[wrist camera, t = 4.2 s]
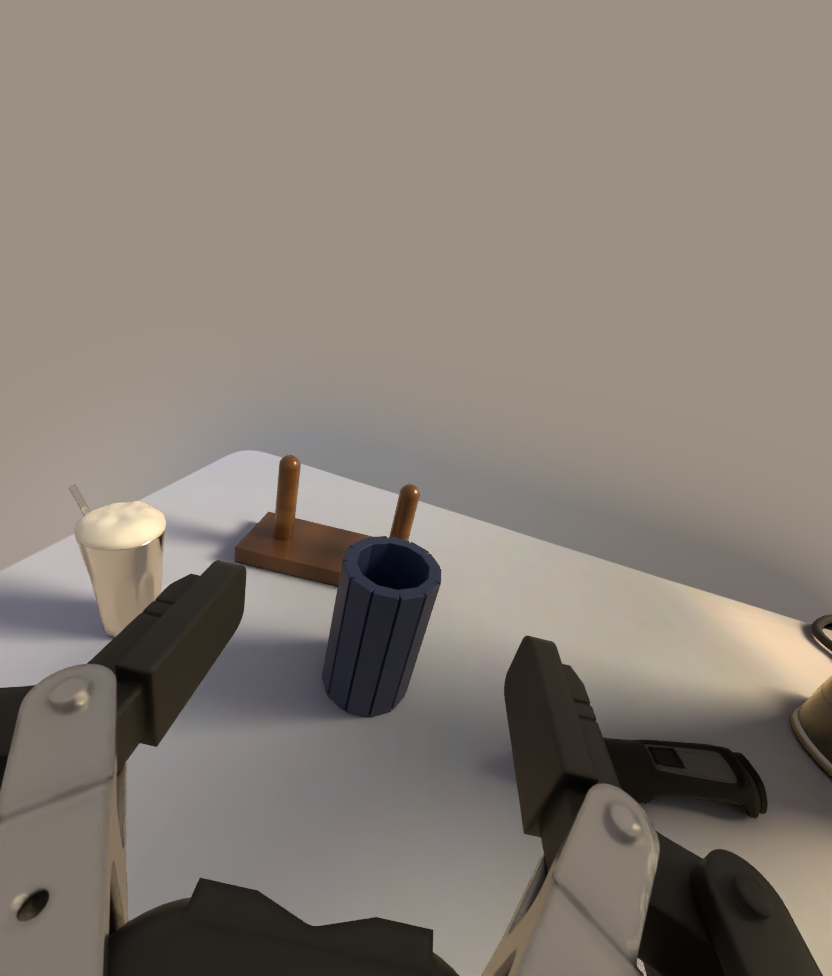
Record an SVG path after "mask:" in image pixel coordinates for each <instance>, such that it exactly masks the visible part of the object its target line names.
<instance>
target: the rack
mask: <svg viewBox="0 0 832 976" xmlns="http://www.w3.org/2000/svg"><path fill="white" fill-rule="evenodd" d="M300 466H301V465H300V462H299V460H298V458H296V457H295V456H292V455H287V456H285V457H283V458H282V459H281V461H280V464H279V475H278V487H277V499H276V511H275V513H272V512H268V513H267V514H266V515H265V516H264V517H263V518H262V519H261V521H260V522H259V523H258V524H257V525H256V526H255V527H254V528H253V529H252V530H251V531H250V533H249V534H248V535H247V536H246V537H245V538H244V539H243V540H242V541H241V542H240V543H239V544H238V546H237V547H236V548H235V562H238V563H242V564H247V565H251V566H255V567H259V568H263V569H268V570H272V571H276V572H280V573H285V574H289V575H293V576H297V577H301V578H306V579H310V580H314V581H318V582H323V583H327V584H331V585H335V586H338V584H339V578H340V573H341V567H342V561H343V558H344V556H345V554H346V551H347V549H348V547H350V545H352V544H354V543H356V542H358V541H360V540H361V539H363V538H366V539H367V538H368V537H372V536H368V535H363V534H359V533H355V532H351V531H347V530H343V529H338V528H334V527H330V526H326V525H322V524H318V523H313V522H309V521H305V520H301V519H297V518H295V512H296V503H297V494H298V485H299V475H300ZM419 496H420V492H419V490H418V488H417V487H416V486H414V485H412V484H408V485H405V486H403V487H402V489H401V490H400V494H399V498H398V502H397V507H396V511H395V515H394V520H393V524H392V528H391V533H390V537H394V538H398V539H402V540H406V541H408V539H409V535H410V531H411V527H412V524H413V520H414V516H415V512H416V508H417V504H418V500H419Z"/></svg>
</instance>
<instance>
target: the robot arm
mask: <svg viewBox="0 0 832 976" xmlns="http://www.w3.org/2000/svg"><path fill="white" fill-rule="evenodd" d="M245 586H246V568H245V567H244V566H241V565H237V564H233V563H228V562H224V561H220V560H217V561H215V562H213V563H212V564H211V565H210V566H209V567H208V568H207V570H206V571H205V572H204V573H203V574H202V575H201V576H198V575H194V574H189V575H187V576H185V577H183V578H181V579H179V580H178V581H176V582H174V583H172V584H170V585H169V586H168V587H167V588H166V589H165V590H164V591H163V592H162V593H161V594H160V595H159V596H158V597H157V598H156V600H155V601H152V602H151V603H150V604H149V605H148V606H147V607H146V608H145V609H144V611H143V613H140V614H139V615H138V616H137V617H136V618H135V619H134V620H133V621H131V622H130V623H129V624H128V625H127V626H126V627H125V628H124V629H123V630H122V631H121V632H120V633H119V634H118V635H117V636H116V637H115V638H114V639H113V640H112V641H111V642H110V643H108V644H107V645H106V646H105V647H104V648H103V649H102V650H101V651H100V652H99V653H98V654H97V655H96V656H95V657H94V658H93V659H92V660H91V661H89V662H88V663H87V664H82V665H76V666H72V667H69V668H65V669H63V670H60V671H58V672H56V673H54V674H52V675H50V676H48V677H47V678H45V679H43V680H42V681H41V682H39V683H38V684H37V685H34V686H24V687H8V688H0V976H459V975H458V974H457V973H456V972H455V970H454V969H453V968H452V967H451V966H449V965H448V964H447V963H446V962H445V961H444V960H443V959H442V958H441V957H439V956H438V955H436V954H435V953H433V930H431V929H427V928H422V927H418V926H413V925H409V924H404V923H400V922H395V921H391V920H386V919H382V918H377V917H375V918H368V919H362V920H356V921H349V922H343V923H336V924H330V925H323V926H311V925H309V924H307V923H305V922H303V921H302V920H301V919H299V918H298V917H296V916H295V915H293V914H292V913H290V912H289V911H287V910H286V909H284V908H283V907H281V906H280V905H278V904H277V903H275V902H274V901H272V900H271V899H269V898H268V897H266V896H265V895H263V894H262V893H260V892H259V891H257V890H253V889H248V888H244V887H239V886H235V885H230V884H226V883H221V882H217V881H212V880H208V879H203V878H200V879H199V881H198V883H197V885H196V888H195V890H194V892H193V894H192V897H191V898H185V899H180V900H176V901H173V902H170V903H166V904H163V905H161V906H159V907H156V908H154V909H152V910H149V911H147V912H145V913H143V914H142V915H140V916H138V917H136V918H134V919H133V920H131V921H129V922H128V884H127V866H126V792H127V764H126V761H127V760H128V758H129V757H130V755H131V754H132V753H133V751H134V750H135V749H136V747H137V746H138V744H139V743H142V744H146V745H151V746H155V747H157V746H158V744H159V743H160V741H161V740H162V738H163V737H164V735H165V734H166V732H167V731H168V730H169V728H170V727H171V725H172V724H173V722H174V721H175V719H176V718H177V716H178V715H179V713H180V712H181V710H182V709H183V708H184V706H185V705H186V703H187V702H188V700H189V699H190V697H191V696H192V694H193V693H194V691H195V690H196V688H197V687H198V686H199V684H200V683H201V681H202V680H203V678H204V677H205V675H206V674H207V672H208V671H209V669H210V668H211V666H212V665H213V664H214V662H215V661H216V659H217V658H218V656H219V655H220V653H221V652H222V650H223V649H224V647H225V646H226V644H227V643H228V642H229V640H230V639H231V637H232V636H233V634H234V633H235V631H236V630H237V628H238V626H239V624H240V621H241V619H242V615H243V611H244V602H245ZM823 628H824V629H828V630H831V631H832V615H826V616H823V617H820V618H818V619H817V620H816V621H814V622H813V624H812V627H811V629H812V633H813V635H814V636H815V637H816V638H817V639H818V640H819V641H820V642H821V643H822V644H823V645H824V646H826V647H827V648H828V649H829V650H831V651H832V641H831V640H830V639H829V638H828V637H827V636H826V635H825V634H824V633H823V631H822V629H823ZM504 696H505V704H506V711H507V718H508V725H509V732H510V739H511V746H512V753H513V760H514V767H515V774H516V781H517V788H518V795H519V802H520V809H521V816H522V823H523V830H524V834H528V835H532V836H537V837H541V839H542V845H543V850H544V854H543V855H542V856H541V858H540V860H539V862H538V864H537V866H536V868H535V870H534V872H533V874H532V877H531V879H530V881H529V883H528V885H527V887H526V889H525V891H524V893H523V895H522V898H521V900H520V902H519V904H518V906H517V908H516V910H515V912H514V914H513V916H512V919H511V921H510V923H509V925H508V927H507V929H506V931H505V933H504V935H503V937H502V939H501V941H500V943H499V945H498V947H497V949H496V951H495V952H494V954H493V956H492V957H491V959H490V961H489V962H488V964H487V966H486V968H485V969H484V971H483V973H482V975H481V976H644V975H643V973H642V972H641V971H640V970H639V969H638V968H637V958H639V959H640V960H642V961H643V963H644V966H645V970H646V974H647V976H823V975H822V973H821V972H820V970H819V968H818V966H817V964H816V962H815V960H814V958H813V956H812V955H811V953H810V951H809V949H808V947H807V945H806V943H805V941H804V940H803V938H802V936H801V934H800V932H799V930H798V928H797V926H796V925H795V923H794V921H793V919H792V917H791V915H790V913H789V911H788V910H787V908H786V906H785V904H784V903H783V901H782V899H781V898H780V897H779V895H778V894H777V892H776V891H775V890H774V888H773V887H772V886H771V885H770V883H769V882H768V881H767V880H766V879H765V878H764V877H763V876H762V874H760V873H759V872H758V871H757V870H756V869H755V868H754V867H753V866H752V865H750V864H749V863H748V862H747V861H745V860H744V859H742V858H741V857H739V856H738V855H736V854H734V853H732V852H729V851H727V850H722V849H716V850H713V851H711V852H710V853H709V854H708V855H707V856H706V857H705V858H704V859H702V858H700V857H699V856H697V855H695V854H693V853H692V852H690V851H688V850H687V849H685V848H683V847H681V846H680V845H678V844H676V843H675V842H673V841H671V840H669V839H668V838H666V837H664V836H663V835H661V834H660V833H658V832H657V831H655V828H654V826H653V824H652V822H651V820H650V819H649V817H648V815H647V814H646V813H645V811H644V810H643V809H642V807H641V806H640V805H639V804H638V803H637V802H636V801H635V800H634V799H633V798H632V797H631V796H630V795H628V794H627V793H626V792H624V791H623V790H622V788H621V786H620V784H619V781H618V778H617V775H616V773H615V770H614V767H613V764H612V762H611V759H610V756H609V753H608V750H607V748H606V745H605V742H604V739H603V737H602V734H601V731H600V728H599V726H598V723H596V717H595V715H594V712H593V709H592V707H591V706H590V701H589V698H588V695H587V693H586V690H585V687H584V684H583V683H582V681H581V680H580V679H579V677H578V676H577V674H576V673H575V672H574V670H573V669H572V668H571V666H569V665H564V664H562V663H561V660H560V656H559V653H558V650H557V647H556V645H555V643H554V642H552V641H548V640H544V639H539V638H535V637H531V636H525V637H524V638H523V640H522V642H521V644H520V646H519V648H518V650H517V653H516V655H515V657H514V659H513V661H512V663H511V665H510V668H509V670H508V672H507V675H506V679H505V686H504ZM791 724H792V727H793V730H794V732H795V734H796V736H797V737H798V739H799V741H800V742H801V743H802V745H803V746H804V748H805V749H806V750H807V751H808V753H809V754H810V755H811V756H812V757H813V759H814V760H815V761H816V762H817V763H818V764H819V765H820V766H821V767H822V768H823V769H824V770H825V771H826V772H827V773H828V774H829V775H830V776H831V777H832V675H831V676H830V677H829V678H828V679H827V680H826V681H825V682H824V683H823V684H822V685H821V686H820V687H819V688H818V689H817V690H816V691H815V692H814V693H813V695H812V696H811V697H810V698H809V699H808V700H807V701H806V702H805V703H804V704H801V705H800V706H798V707H797V709H796V710H795V711H794V712H793V713H792V715H791Z"/></svg>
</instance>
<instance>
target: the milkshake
mask: <svg viewBox="0 0 832 976" xmlns="http://www.w3.org/2000/svg"><path fill="white" fill-rule="evenodd" d="M69 489H70V491H71V493H72V495H73V497H74V498H75V500H76V502H77V504H78V506H79V507H80V509H81V511H82V513H83V515H84V517H83V518H82V519H80V520H79V522H78V523H77V524H76V526H75V530H74V533H75V537H76V540H77V543H78V546H79V549H80V552H81V555H82V558H83V561H84V564H85V567H86V569H87V572H88V574H89V577H90V580H91V584H92V587H93V591H94V595H95V598H96V602H97V605H98V609H99V613H100V616H101V620H102V623H103V626H104V629H105V631H106V634H107V635H109V636H112V637H116V636H117V635H118V634H119V633H120V632H121V631H122V630H123V629H124V628H125V627H126V626H127V625H128V624H129V623H130V622H131V621H133V620H134V619H135V618H136V617H137V616H138V615H139V614H140V613H143V611H144V609H145V608H146V607H147V606H148V605H149V604H150V603H151V602H152V601H155V600H156V598H157V597H158V596H159V595H160V594H161V593H162V571H163V552H164V541H165V529H166V520H165V517H164V515H163V514H162V513H161V512H160V511H159V510H157V509H155V508H153V507H151V506H149V505H147V504H146V503H144V502H141V501H133V502H129V503H113V504H110V505H107V506H104V507H102V508H99V509H95V510H93V511H90V509H89V508H88V506H87V504H86V502H85V500H84V498H83V497H82V495H81V493H80V491H79V489H78V487H77V486H76V485H75V484H74V485H72V486H69Z"/></svg>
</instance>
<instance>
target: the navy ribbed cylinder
mask: <svg viewBox="0 0 832 976" xmlns="http://www.w3.org/2000/svg"><path fill="white" fill-rule="evenodd" d="M428 553H429V552H428V551H426V550H425V549H423V548H421V547H420V546H418V545H416V544H415V543H413V542H411V543H410V544H409V541H406V540H402V539H398V538H394V537H389V539H388V538H387V537H386V536H382V537H368V538H367V539H366V538H363V539H361V540H360V541H358V542H356V543H354V544H352V545H350V547H348V549H347V551H346V554H345V556H344V558H343V561H342V567H341V573H340V578H339V584H338V590H337V595H336V601H335V606H334V612H333V618H332V623H331V629H330V635H329V640H328V646H327V651H326V657H325V663H324V668H323V676H322V678H323V682H324V685H325V689H326V693H327V695H329V698H330V699H332V700H333V701H334V702H335V703H336V704H337V705H338V706H339V707H340V708H341V709H343V710H345V709H346V708H347V712H348V713H352V714H356V715H361V716H365V717H368V714H369V715H370V717H373V716H376V715H380V714H383V713H386V712H390V710H391V709H392V710H393V709H394V708H395V706H396V705H397V704H398V703H399V702H400V701H401V700H402V699H403V697H404V696H405V693H406V691H407V688H408V685H409V682H410V679H411V675H412V672H413V669H414V666H415V663H416V660H417V656H418V653H419V650H420V647H421V644H422V641H423V638H424V634H425V631H426V628H427V625H428V622H429V619H430V615H431V612H432V609H433V606H434V603H435V600H436V596H437V593H438V590H439V587H440V584H441V569H440V566H439V565H438V563H437V562H436V560H435V559H434V558H433V556H432V555H431V554H428Z"/></svg>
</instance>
